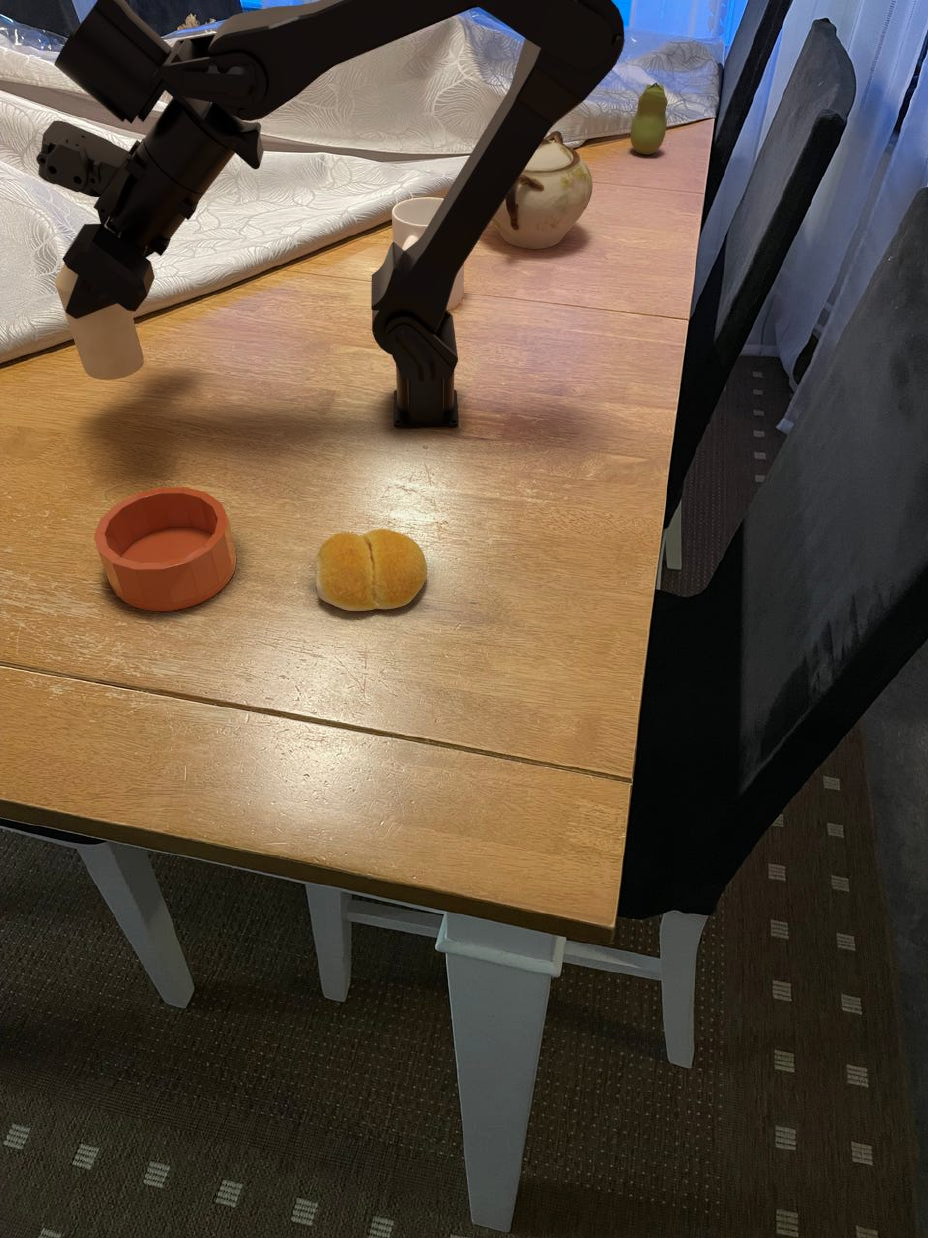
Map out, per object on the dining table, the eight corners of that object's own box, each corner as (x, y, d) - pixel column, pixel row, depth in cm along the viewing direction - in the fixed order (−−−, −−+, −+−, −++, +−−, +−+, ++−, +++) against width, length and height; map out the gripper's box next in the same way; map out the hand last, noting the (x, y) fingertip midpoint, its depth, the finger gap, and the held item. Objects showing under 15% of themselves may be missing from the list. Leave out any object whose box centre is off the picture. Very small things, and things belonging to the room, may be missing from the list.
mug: (433, 334, 100) (433, 244, 92) (369, 319, 102) (363, 230, 95) (473, 291, 108) (476, 204, 100) (412, 278, 110) (410, 192, 102)
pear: (662, 149, 145) (674, 80, 138) (661, 160, 141) (673, 90, 134) (628, 146, 146) (638, 77, 138) (626, 157, 142) (636, 87, 135)
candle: (130, 383, 81) (98, 277, 74) (73, 377, 81) (37, 272, 74) (154, 353, 84) (126, 249, 77) (100, 348, 85) (67, 245, 78)
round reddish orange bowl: (227, 610, 69) (216, 568, 65) (97, 612, 68) (80, 570, 65) (243, 528, 76) (234, 486, 72) (125, 529, 75) (111, 487, 72)
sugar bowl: (560, 275, 111) (573, 148, 100) (452, 254, 115) (453, 128, 104) (604, 219, 124) (619, 100, 113) (505, 201, 128) (511, 85, 117)
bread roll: (433, 610, 69) (433, 573, 66) (319, 621, 68) (313, 584, 65) (420, 541, 75) (419, 505, 72) (314, 551, 74) (309, 514, 71)
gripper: (108, 52, 73) (20, 193, 80) (50, 126, 60) (-49, 286, 67) (222, 153, 79) (130, 275, 86) (192, 239, 66) (87, 375, 73)
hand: (78, 299), depth 78 cm, fingers closed on candle, 5 cm apart
